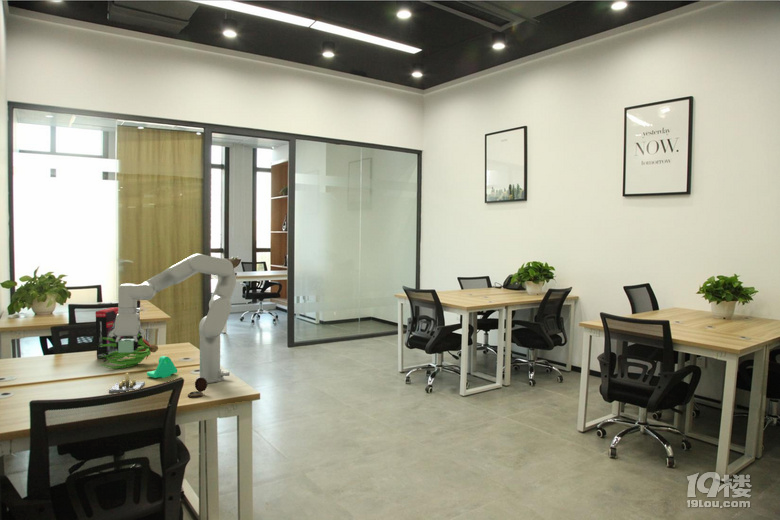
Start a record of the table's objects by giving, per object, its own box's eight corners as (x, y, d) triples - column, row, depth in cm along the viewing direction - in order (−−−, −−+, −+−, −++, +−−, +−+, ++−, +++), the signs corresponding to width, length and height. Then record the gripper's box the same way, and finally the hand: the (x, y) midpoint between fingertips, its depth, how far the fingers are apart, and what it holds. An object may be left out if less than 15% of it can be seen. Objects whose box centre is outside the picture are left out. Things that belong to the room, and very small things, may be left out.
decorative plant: (164, 373, 278) (109, 383, 253) (140, 357, 292) (85, 365, 267) (171, 328, 275) (116, 334, 250) (147, 314, 289) (92, 318, 264)
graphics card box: (107, 359, 286) (107, 311, 285) (95, 359, 286) (94, 311, 285) (123, 352, 303) (123, 307, 302) (112, 352, 303) (112, 307, 302)
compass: (184, 397, 220) (184, 380, 220) (196, 392, 228) (196, 376, 227) (200, 399, 218) (200, 382, 217) (211, 394, 225) (211, 378, 225)
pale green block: (136, 349, 234) (136, 338, 234) (132, 352, 229) (132, 341, 228) (122, 349, 233) (122, 339, 233) (118, 352, 227) (118, 341, 227)
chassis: (144, 383, 239) (144, 369, 238) (138, 391, 227) (138, 375, 227) (116, 385, 236) (116, 370, 236) (108, 392, 224) (108, 377, 224)
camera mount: (168, 372, 261) (168, 352, 260) (177, 374, 256) (177, 354, 256) (146, 377, 250) (146, 357, 250) (155, 380, 246) (155, 359, 246)
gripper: (150, 309, 236) (149, 348, 236) (109, 309, 232) (109, 348, 232) (146, 311, 229) (145, 351, 229) (104, 312, 225) (103, 352, 225)
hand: (127, 349), depth 231 cm, fingers closed on pale green block, 6 cm apart
